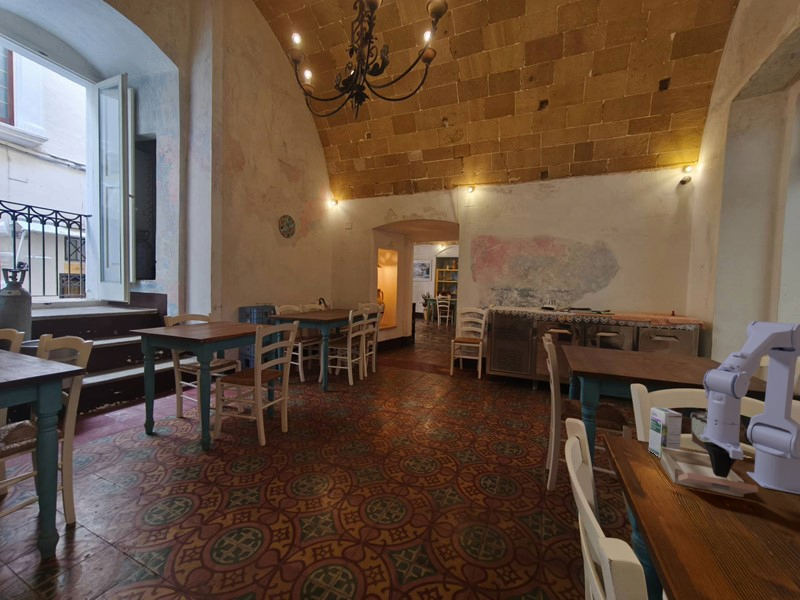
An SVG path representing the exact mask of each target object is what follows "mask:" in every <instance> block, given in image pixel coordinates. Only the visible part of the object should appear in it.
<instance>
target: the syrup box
mask: <svg viewBox="0 0 800 600" xmlns="http://www.w3.org/2000/svg"><path fill="white" fill-rule="evenodd" d="M682 417H683V414H682V413H680V412H676V411H675V410H672V409H669V408H667V407H660V406H658V407H657V406H655V407H651V408H650V418H649V419H650V420H649V421H650V422H649V436H648V437H649V438H648V440H649V441H648V450H649V451H651V452H652V453H654V454H655V455H656V457H657V456H658V458H659V459H660V458H661V447H667V448H673V449H678V450H681V438H682V435H681V434H682V421H683V418H682ZM649 451H648V452H649ZM652 453H651V454H652ZM654 454H653V455H654ZM655 455H654V456H655Z"/></svg>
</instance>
